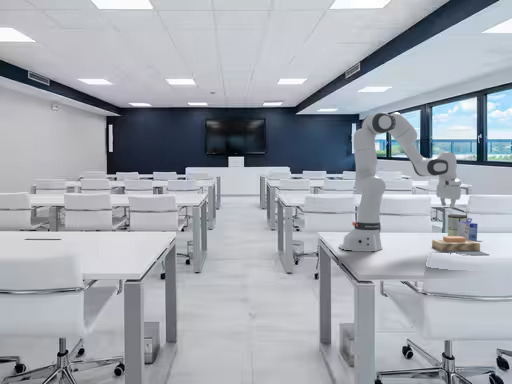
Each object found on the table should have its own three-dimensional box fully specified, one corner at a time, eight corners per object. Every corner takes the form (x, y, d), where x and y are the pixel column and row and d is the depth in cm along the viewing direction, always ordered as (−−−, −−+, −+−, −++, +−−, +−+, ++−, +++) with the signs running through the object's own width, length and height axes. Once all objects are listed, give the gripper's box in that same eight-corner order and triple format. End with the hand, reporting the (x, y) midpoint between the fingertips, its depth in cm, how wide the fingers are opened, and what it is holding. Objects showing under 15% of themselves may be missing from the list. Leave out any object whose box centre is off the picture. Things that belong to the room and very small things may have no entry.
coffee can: (450, 236, 258) (451, 213, 257) (468, 238, 251) (469, 215, 250) (444, 238, 250) (445, 215, 250) (463, 240, 243) (463, 216, 242)
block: (448, 242, 219) (448, 238, 219) (443, 240, 225) (443, 236, 225) (465, 241, 219) (465, 238, 219) (459, 239, 225) (459, 236, 225)
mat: (453, 255, 205) (453, 255, 205) (443, 251, 215) (443, 250, 215) (489, 255, 206) (489, 254, 206) (477, 250, 216) (478, 250, 216)
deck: (441, 251, 215) (441, 243, 215) (432, 247, 226) (432, 239, 226) (479, 250, 216) (480, 243, 215) (468, 246, 227) (468, 239, 226)
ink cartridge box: (477, 245, 229) (478, 219, 228) (468, 246, 228) (469, 219, 227) (465, 242, 239) (465, 217, 238) (456, 242, 238) (457, 217, 237)
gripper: (433, 180, 238) (433, 205, 239) (451, 182, 217) (451, 208, 218) (444, 180, 238) (444, 204, 239) (463, 181, 218) (463, 208, 219)
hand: (447, 206), depth 228 cm, fingers open, 8 cm apart
